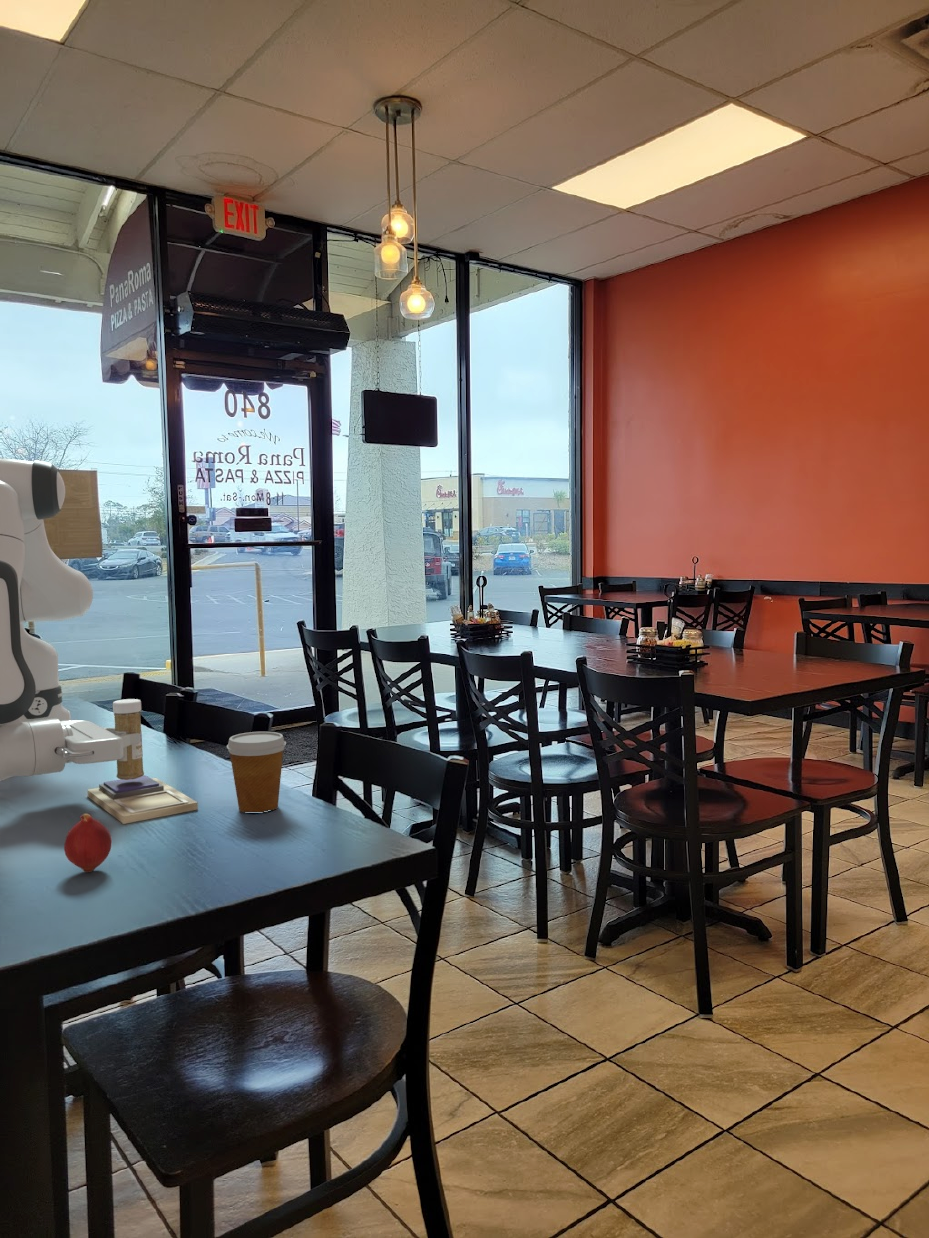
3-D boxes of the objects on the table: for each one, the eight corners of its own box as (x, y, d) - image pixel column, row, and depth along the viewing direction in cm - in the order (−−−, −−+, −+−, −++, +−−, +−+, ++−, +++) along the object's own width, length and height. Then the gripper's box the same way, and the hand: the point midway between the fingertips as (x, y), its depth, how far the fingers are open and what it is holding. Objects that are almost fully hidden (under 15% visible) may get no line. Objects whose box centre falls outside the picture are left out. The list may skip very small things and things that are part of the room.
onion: (78, 863, 123) (75, 806, 122) (119, 863, 123) (117, 806, 122) (57, 879, 117) (54, 819, 117) (101, 879, 117) (98, 819, 116)
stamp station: (87, 796, 156) (86, 782, 156) (156, 784, 163) (155, 771, 163) (123, 823, 140) (122, 809, 140) (197, 809, 148) (197, 795, 147)
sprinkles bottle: (146, 777, 155) (143, 700, 154) (119, 781, 152) (115, 703, 151) (140, 772, 158) (137, 697, 157) (113, 776, 156) (110, 699, 155)
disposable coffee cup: (216, 814, 145) (214, 741, 144) (250, 798, 154) (248, 729, 153) (267, 819, 142) (265, 745, 141) (298, 803, 151) (296, 733, 150)
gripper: (63, 737, 138) (153, 726, 147) (33, 718, 155) (115, 709, 163) (65, 777, 139) (154, 763, 147) (34, 754, 155) (116, 743, 163)
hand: (133, 734), depth 155 cm, fingers closed on sprinkles bottle, 4 cm apart
